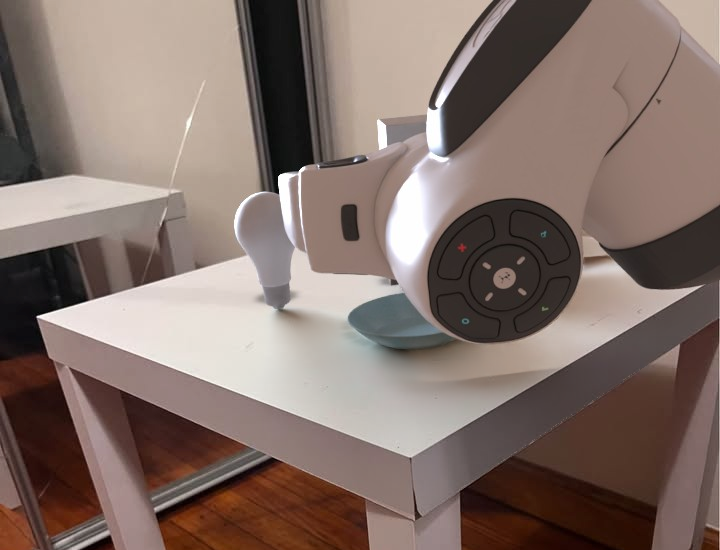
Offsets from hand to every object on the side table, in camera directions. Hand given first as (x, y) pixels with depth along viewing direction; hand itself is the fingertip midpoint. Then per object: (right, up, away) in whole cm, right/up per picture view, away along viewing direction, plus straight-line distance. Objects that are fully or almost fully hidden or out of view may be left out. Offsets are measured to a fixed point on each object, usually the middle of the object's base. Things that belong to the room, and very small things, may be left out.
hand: (408, 174), depth 60 cm
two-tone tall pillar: (+1, -6, +3) cm, 7 cm away
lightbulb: (-12, -7, +16) cm, 21 cm away
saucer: (+1, -12, +6) cm, 13 cm away
